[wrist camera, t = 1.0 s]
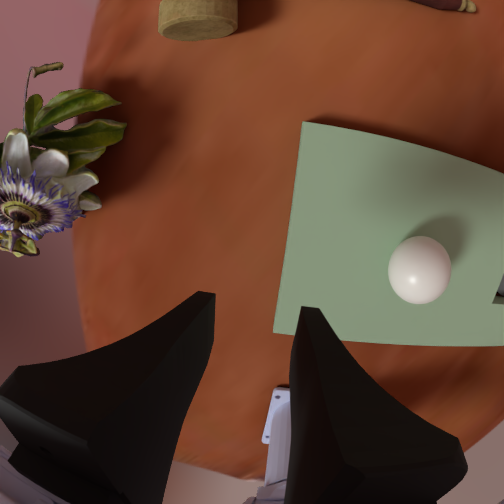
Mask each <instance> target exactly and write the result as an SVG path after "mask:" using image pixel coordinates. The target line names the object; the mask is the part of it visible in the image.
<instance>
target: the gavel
mask: <svg viewBox="0 0 504 504" xmlns="http://www.w3.org/2000/svg"><path fill="white" fill-rule="evenodd" d="M411 1H414V2H418V3H421V4H424V5H427V6H430V7H433V8H436V9H447V10H457V11H463V10H464V9H465V10H466V11H468V12H471V13H472V12H475V11H476V6H475V4H474V3H473V2H472V1H470V0H411ZM237 28H238V1H237V0H163V1H162V2H161V3H160V6H159V22H158V32H159V33H160V34H161V35H163V36H165V37H167V38H169V39H174V40H180V41H198V40H206V39H216V38H222V37H225V36H227V35H229V34H231V33H233V32H234V31H236V30H237Z"/></svg>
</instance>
